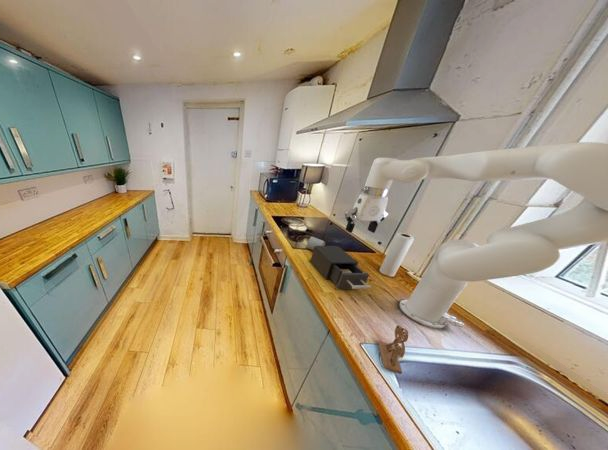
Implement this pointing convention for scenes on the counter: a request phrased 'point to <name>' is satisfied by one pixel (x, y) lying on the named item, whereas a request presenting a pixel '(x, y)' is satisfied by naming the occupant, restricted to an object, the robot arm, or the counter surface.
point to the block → (346, 271)
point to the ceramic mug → (314, 243)
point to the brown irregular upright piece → (394, 350)
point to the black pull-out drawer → (348, 277)
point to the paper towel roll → (396, 254)
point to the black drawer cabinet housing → (329, 258)
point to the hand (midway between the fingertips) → (359, 231)
